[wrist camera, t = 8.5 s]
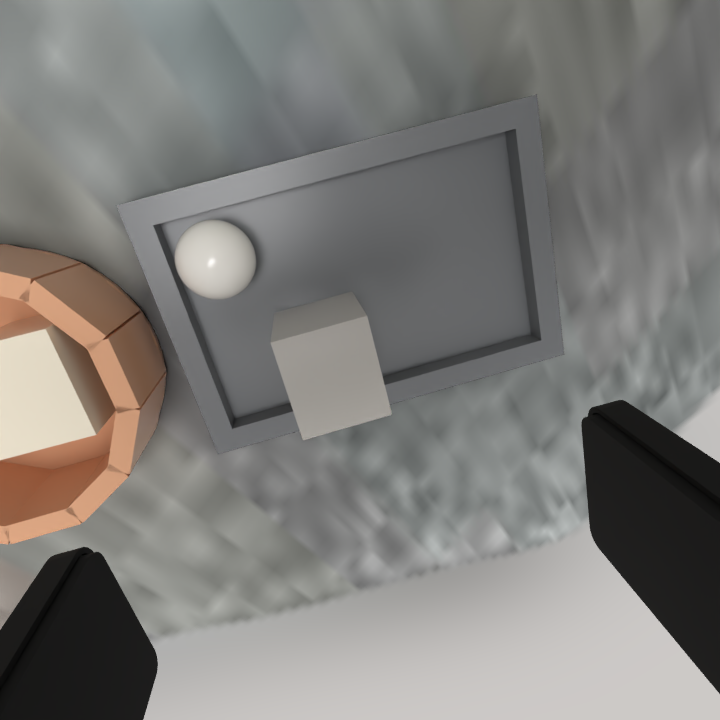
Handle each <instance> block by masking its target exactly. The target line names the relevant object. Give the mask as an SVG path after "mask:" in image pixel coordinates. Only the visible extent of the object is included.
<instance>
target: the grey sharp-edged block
mask: <svg viewBox="0 0 720 720" xmlns="http://www.w3.org/2000/svg"><path fill="white" fill-rule="evenodd" d="M270 343H271V346H272V349H273V352H274V355H275V358H276V361H277V364H278V367H279V370H280V373H281V376H282V379H283V382H284V385H285V388H286V391H287V394H288V397H289V400H290V403H291V406H292V409H293V412H294V415H295V418H296V421H297V424H298V427H299V430H300V433H301V436H302V439H303V440H306V439H310V438H313V437H317V436H320V435H324V434H327V433H330V432H334V431H337V430H341V429H344V428H348V427H351V426H355V425H358V424H362V423H365V422H368V421H372V420H375V419H379V418H382V417H386V416H389V415H392V412H391V408H390V404H389V400H388V396H387V392H386V388H385V384H384V380H383V376H382V373H381V369H380V365H379V361H378V357H377V353H376V349H375V345H374V341H373V337H372V333H371V329H370V325H369V321H368V317H367V315H366V313H365V311H364V310H363V308H362V307H361V305H360V303H359V302H358V300H357V299H356V297H355V295H354V294H353V292H352V291H351V292H348V293H344V294H341V295H337V296H333V297H330V298H326V299H323V300H319V301H315V302H312V303H308V304H305V305H301V306H297V307H294V308H290V309H287V310H283V311H279V312H276V313H274V321H273V328H272V335H271V342H270Z"/></svg>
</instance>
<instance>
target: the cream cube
mask: <svg viewBox="0 0 720 720" xmlns="http://www.w3.org/2000/svg"><path fill="white" fill-rule="evenodd" d="M115 411H116V409H115V406H114V404H113V402H112V400H111V398H110V396H109V394H108V392H107V390H106V388H105V386H104V383H103V381H102V379H101V377H100V375H99V373H98V371H97V369H96V367H95V365H94V363H93V360H92V358H91V356H90V354H89V352H88V350H87V349H86V348H85V347H84V346H82V345H81V344H80V343H78V342H77V341H76V340H74V339H73V338H72V337H70V336H69V335H68V334H66V333H65V332H64V331H62V330H61V329H60V328H58V327H57V326H56V325H54V324H53V323H52V322H50V321H49V320H48V319H46V318H45V317H44V316H42V315H37V316H33V317H29V318H25V319H21V320H17V321H13V322H11V323H8V324H6V325H4V326H2V327H0V460H3V459H7V458H11V457H15V456H18V455H22V454H26V453H30V452H33V451H37V450H41V449H45V448H48V447H52V446H56V445H60V444H64V443H67V442H71V441H75V440H79V439H82V438H86V437H90V436H94V435H97V433H98V432H99V431H100V430H101V428H102V427H103V426H104V425H105V423H106V422H107V421H108V420H109V418H110V417H111V416H112V415H113V414H114V412H115Z"/></svg>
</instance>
